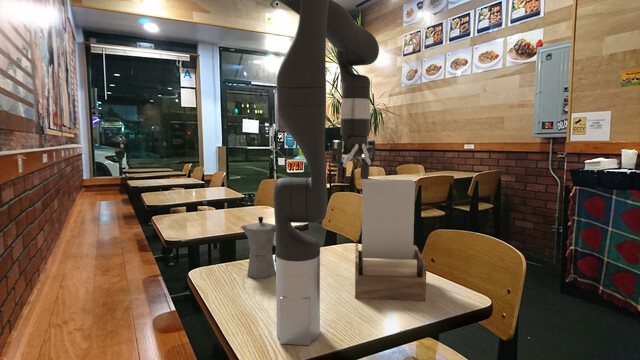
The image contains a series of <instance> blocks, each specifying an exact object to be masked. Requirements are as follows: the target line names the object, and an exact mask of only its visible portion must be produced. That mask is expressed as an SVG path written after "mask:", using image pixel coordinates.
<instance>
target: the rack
mask: <svg viewBox="0 0 640 360" xmlns="http://www.w3.org/2000/svg"><path fill="white" fill-rule="evenodd" d="M354 245H355V246H354V247H355V250H354V251H355V254H354V255H355V257H354V259H355V260H354V261H355V263H354V267H355V269H354V288H355V289H354V298H355V299H361V300H362V299H365V300H370V299H371V300H386V301H387V300H390V301H410V302H411V301H412V302H413V301H414V302H426V297H427V296H426V293H427V292H426V290H427V267H428V266H427V264H428V263H427V262H426V260H425V258H424V256H423V255H422V253H421V252H420V250H419V248H418V247H417V245H416V244H415V245H414V244H413V260H417V277H400V276H372V275H363V266H362V249H359V243H354Z"/></svg>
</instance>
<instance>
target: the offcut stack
mask: <svg viewBox="0 0 640 360" xmlns="http://www.w3.org/2000/svg"><path fill="white" fill-rule="evenodd" d="M363 275H372V276H400V277H417V260H413V259H380V258H363Z"/></svg>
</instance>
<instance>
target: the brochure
mask: <svg viewBox="0 0 640 360" xmlns="http://www.w3.org/2000/svg"><path fill="white" fill-rule="evenodd" d="M415 189H416V181H413V179H387V178H385V179H384V178H383V179H382V178H380V179H377V178H376V179H375V178H374V179H373V178H368V179H362V192H361V193H362V194H361V195H362V197H361V199H362V201H361V202H362V203H361V206H362V208H361V209H362V211H361V250H362V266H363V258H380V259H413V245H414V238H415V237H414V236H415V235H414V233H415V232H414V231H415V229H414V225H415V200H416V199H415V197H416V196H415V195H416V194H415V191H416V190H415Z"/></svg>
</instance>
